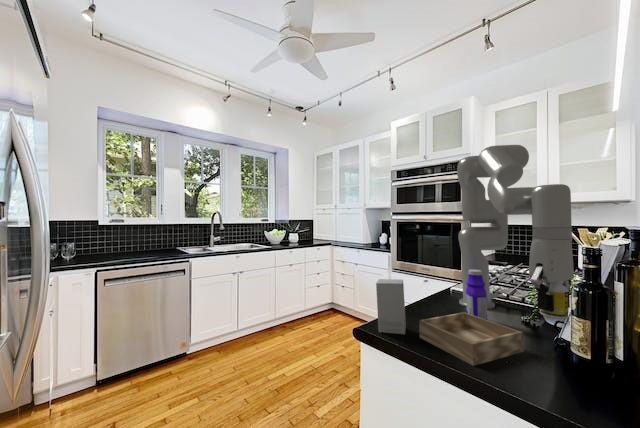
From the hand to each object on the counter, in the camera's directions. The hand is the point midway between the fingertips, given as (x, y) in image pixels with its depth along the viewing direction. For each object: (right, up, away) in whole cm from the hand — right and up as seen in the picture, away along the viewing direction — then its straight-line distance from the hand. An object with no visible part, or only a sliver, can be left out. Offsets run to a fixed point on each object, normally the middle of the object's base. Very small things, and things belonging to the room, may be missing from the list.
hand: (553, 307), depth 69 cm
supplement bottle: (0, -2, 0) cm, 2 cm away
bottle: (-5, -14, +25) cm, 29 cm away
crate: (-17, -13, +9) cm, 23 cm away
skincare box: (-35, -14, +20) cm, 42 cm away
